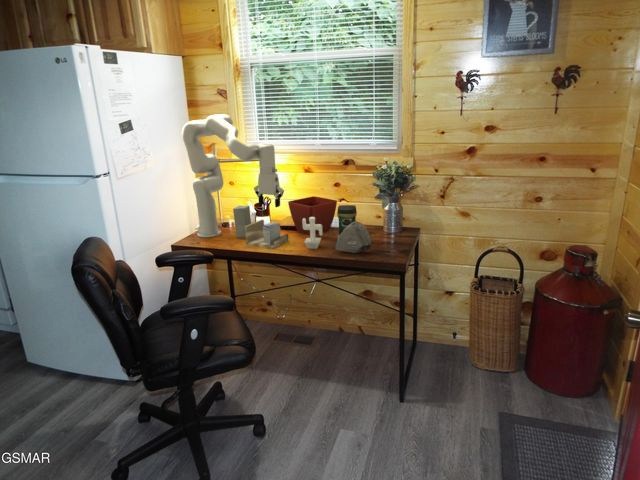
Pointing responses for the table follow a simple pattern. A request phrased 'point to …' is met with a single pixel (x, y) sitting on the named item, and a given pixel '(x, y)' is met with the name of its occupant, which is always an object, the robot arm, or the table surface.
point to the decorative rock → (354, 238)
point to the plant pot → (313, 212)
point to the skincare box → (241, 219)
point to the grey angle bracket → (261, 236)
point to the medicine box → (271, 231)
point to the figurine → (312, 233)
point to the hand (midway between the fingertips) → (269, 205)
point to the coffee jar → (346, 216)
